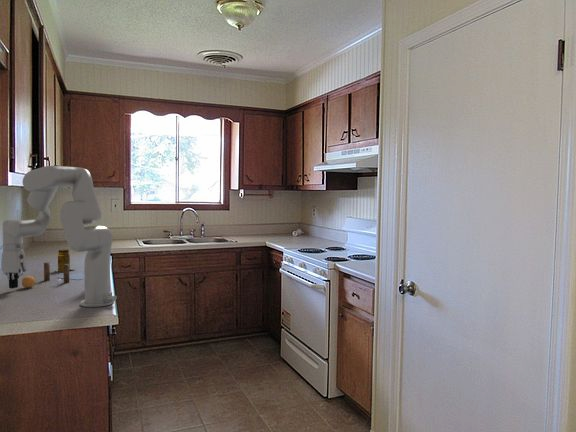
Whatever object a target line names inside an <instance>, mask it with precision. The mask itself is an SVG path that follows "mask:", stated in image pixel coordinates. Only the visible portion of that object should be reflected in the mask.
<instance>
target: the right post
mask: <svg viewBox="0 0 576 432" xmlns="http://www.w3.org/2000/svg"><path fill="white" fill-rule="evenodd" d="M62 273H63V275H62V276H63V278H62V280H63V283H64V284H69V283H70V279H69V275H70V271H69V264H64V265H63V272H62Z"/></svg>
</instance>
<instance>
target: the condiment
mask: <svg viewBox="0 0 576 432" xmlns="http://www.w3.org/2000/svg"><path fill="white" fill-rule="evenodd" d="M70 257H71V255H70V250H69V249H58V255H57V272H58V271H59V272H60V273H63V265H64V264H69V272H71V271H74V268H73V269H70V268H71V267H70V266H71V265H70V264H71V263H70V262H71V258H70ZM70 270H71V271H70Z"/></svg>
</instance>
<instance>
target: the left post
mask: <svg viewBox="0 0 576 432" xmlns="http://www.w3.org/2000/svg"><path fill="white" fill-rule="evenodd" d="M50 267H51V264H50V262H48V261H47V262H43V282H50V281H51V277H50V276H51V275H50V273H51V271H50V270H51V268H50Z"/></svg>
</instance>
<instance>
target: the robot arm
mask: <svg viewBox="0 0 576 432" xmlns="http://www.w3.org/2000/svg"><path fill="white" fill-rule="evenodd" d="M22 187H23V188H24V189H25V190H26V191H29V192H30V193H29V195H28V197H27V198H26V199H27V200H26V201H27V203H28V205H29V206H30V207H31V208H33V209H35V210H37V211H38V212H39V213H38V215H37V216H36V218H34V219H5V220H3V222H2V253H1V258H0V259H1V261H0V262H1V264H0V267H1V272H2V274H3V275H5V276H7V277H6V278H7V280H8V288H9V289H15V288H19V278H20V277H21V276H24V273H25V272H26V271H27V261H26V260H27V259H26V253H25V250H24V249H23V248H24V243H23V240H24V239H23V238H28V237H37V236H42V234H44V232H45V231H46V230H47V228H48V227H49V225H50V222H51V210H50V208H49V206H50V205H51V203H52V200H53V199H54V197H55V196H56V193H57V191H58V189H59V188H72V189H71V197H72V199H73V200H71V201H66V202H64V204H62V205H61V207H60V211H59V217H60V218H59V219H60V223H61V226H62V229H63V232H64V235H65V239H66V242H67V245H68V247H69V248H70V249H71V251H73V252H76V253H83V252H86V253H85V257H84V266H83V271H84V273H83V274H84V277H85V279H84V299H82V300H81V301H80V303H79V305H80V306H81V307H86V308H100V307H106V306H109V305H112V304H114V303H115V302H116V300H117V299H118V296H117V295H113V292H112V291H111V250H112V246H113V238H114V237H113V233H112V231H111V229H110V228H108V227H107V226H104V225H93V224H97V223H98V222H100V221H101V218H102V211H101V208H100V204H99V201H98V197H97V195H96V191H95V187H94V182H93V178H92V175H91V173H90V171H89V170H88V169H86V168H83V167H80V166H79V167H76V166H66V165H65V166H63V165H45V166H42V167H38V168H35V169H32V170H30V171H29V170H28V171H27V172H25V174H24V176H23V178H22ZM84 225H89V226H84Z"/></svg>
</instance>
